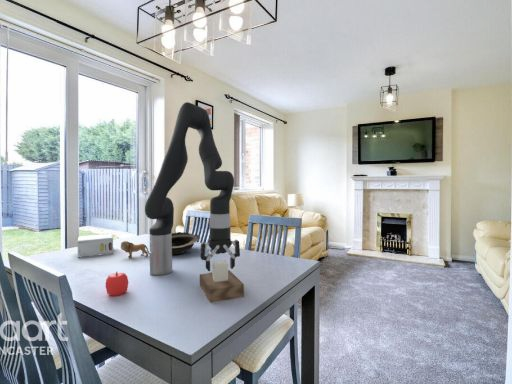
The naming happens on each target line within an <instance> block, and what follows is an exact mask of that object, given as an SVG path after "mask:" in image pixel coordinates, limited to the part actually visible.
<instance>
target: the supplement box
mask: <svg viewBox="0 0 512 384" xmlns="http://www.w3.org/2000/svg"><path fill="white" fill-rule="evenodd" d="M109 253H113V254H114V237H113V234H112V233H106V234H104V233H103V234H95V235H94V234H93V235H84V236H83V235H81V236H78V239H77V258H78V257H80V256H89V257H92V256H91V255H97V256H100V255H99V254H105V255H110V254H109ZM80 258H81V257H80Z"/></svg>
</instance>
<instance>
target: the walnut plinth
mask: <svg viewBox="0 0 512 384" xmlns="http://www.w3.org/2000/svg"><path fill="white" fill-rule="evenodd" d="M244 284H245V283H243V282H242V281H241V280H240V278H239V277H237V276H236V275H235V274H234V273H233V272H232V271H231V270H229V269H228V281H220V282H214V280H213V276H212V272H207V273H200V274H199V287H200V289H201V290H202V292H203V293H205V294H204V295H205V296H206V299H207V300H208V303H210V304H212V303H217V302H222V301H228V300H233V299H238V298H244V296H245V289H244V288H245V285H244Z"/></svg>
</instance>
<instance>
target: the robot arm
mask: <svg viewBox="0 0 512 384" xmlns="http://www.w3.org/2000/svg"><path fill="white" fill-rule="evenodd" d="M189 128H190V129H193V130H196V131H197V133H198V135H199V137H200V140H199V143H198V154H199V157H200V160H201V163H202V165H203V172H204V175H203V176H204V185H205V186H206V188H207V189H208V190H210V191H219V193H218V195H217V196H214V197H211V199H210V202H209V204H210V205H209V211H210V212H209V224H208V225H209V241H208V242H204V241H201V243H200V253H199V254H200V259H201V260H202V261H204V262H205V269H206V270H207V272H210V271H211V259H212V257H214V255H215V254H216V255H220V254H226V253H227V254H228V255H229V256H230V257H229V268H230V269H231V270H232V269H234V268H235V267H236V258H238V257H241V252H240V251H241V248H240V241H239V240H238V239H234V240H232V239H231V237H232V236H231V234H232V233H231V214H230V213H231V212H230V211H231V210H230V206H231V205H230V201H231V198H232V194H233V190H234V186H235V177H234V175H233V174H232V172H231V171H228V170H219V169H220V168H221V167H222V166H223V161H222V158H221V155H220V153H219V151H218V148H217V145H216V143H215V139H214V135H213V131H212V129H213V128H212V125H211V120H210V116H209V113H208V112H207V110H206V109H205V108H203V107H200V106H198V105H196V104H194V103H191V102H188V101H187V102H184V103H183V104H182V105H181V106H180V108H179V110H178V113H177V116H176V121H175V123H174V128H173V132H172V136H171V138H170V141H169V144H168V146H167V150H166V152H165V155H164V158H163V161H162V164H161V166H160V170H159V172H158V175H157V177H156V180H155V183H154V185H153V187H152V189H151V192H150V193H149V196H148V198H147V199H146V202H145V205H144V213H145V216H146V217H147V218H148V219H151V220H155V223H154V224H153V225H151V226H150V228H149V253H150V254H149V275H150V276H153V275H154V276H163V275H167V274H170V273H172V272H173V255H172V233H173V232H172V231H173V227H174V218H175V217H174V214H175V210H174V209H175V207H174V203H173V201H172V199H171V198H169V197H167V196H168V193H169V192H170V191H171V190H172V188H173V187H174V186H175V185H176V183H178V181H179V180H180V179H181V177H182V176H183V174H184V172H185V169H186V166H187V164H188V161H189V160H188V159H189V155H188V151H187V144H186V138H187V133H188V130H189ZM232 245H233V247H234V253H233V252H232V250H231V249H230V248H231V246H232ZM208 247H209V248H210V250H209V251H208V253H207V254H206V250H207V248H208Z"/></svg>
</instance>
